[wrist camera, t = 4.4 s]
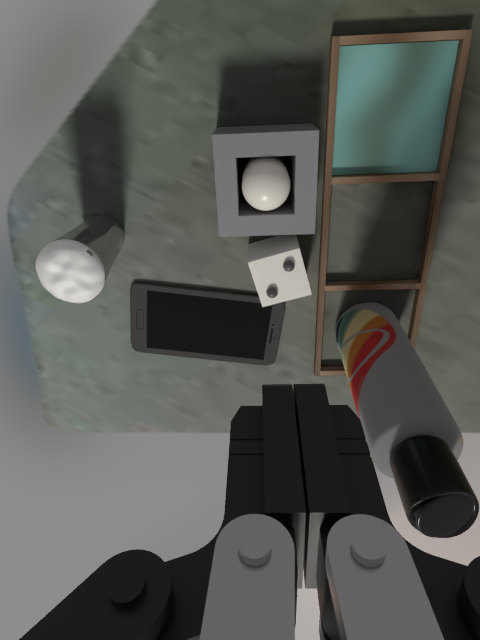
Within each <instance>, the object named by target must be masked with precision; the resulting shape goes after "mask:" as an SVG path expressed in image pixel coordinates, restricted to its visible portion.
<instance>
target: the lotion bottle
mask: <svg viewBox="0 0 480 640" xmlns="http://www.w3.org/2000/svg"><path fill="white" fill-rule="evenodd" d="M335 336H336V341H337V345H338V348H339V352H340V355H341V359H342V362H343V365H344V369H345V372H346V375H347V379H348V382H349V386H350V389H351V392H352V396H353V399H354V402H355V406H356V409H357V413H358V416H359V419H360V420H361V423H362V427H363V430H364V434H365V437H366V442H367V444H368V447H369V451H370V455H371V458H372V461H373V463H374V464H375V466H376V467H377V469H378V470H379V471H380V472H382V473H383V474H385V475H386V476H388V477H390V478H393V479H395V482H396V486H397V489H398V492H399V494H400V498H401V501H402V504H403V507H404V510H405V513H406V516H407V518H408V521H409V522H410V523H411V525H412V526H413V527H414V528H416V529H417V530H419V531H420V532H422V533H423V534H424V535H426V536H429V537H438V538H448V537H454V536H457V535H460V534H462V533H463V532H465V531H466V530H468V529H469V528H470V527H471V526H472V524H473V523H474V522H475V520H476V518H477V515H478V512H479V503H478V500H477V498H476V495H475V494H474V492H473V490H472V488H471V486H470V484H469V482H468V480H467V478H466V477H465V475H464V473H463V471H462V469H461V467H460V465H459V463H458V461H457V460H458V459H459V457H460V455H461V452H462V449H463V438H462V435H461V432H460V430H459V428H458V426H457V424H456V422H455V420H454V419H453V417H452V415H451V413H450V411H449V410H448V408H447V406H446V404H445V402H444V401H443V399H442V397H441V395H440V394H439V392H438V390H437V388H436V386H435V385H434V383H433V381H432V379H431V378H430V376H429V374H428V372H427V370H426V369H425V367H424V365H423V363H422V362H421V360H420V358H419V356H418V354H417V353H416V351H415V349H414V347H413V346H412V344H411V342H410V340H409V338H408V337H407V335H406V333H405V331H404V330H403V328H402V326H401V324H400V323H399V321H398V319H397V318H396V316H395V315H394V313H393V312H392V311H391V310H390V309H389V308H387V307H386V306H384V305H382V304H379V303H374V302H365V303H360V304H357V305H354V306H352V307H350V308H349V309H347V310H346V311H345V312H344V313H343V314H342V315H341V316H340V318H339V319H338V321H337V324H336V328H335Z"/></svg>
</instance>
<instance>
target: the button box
mask: <svg viewBox="0 0 480 640" xmlns="http://www.w3.org/2000/svg"><path fill="white" fill-rule="evenodd" d="M212 141H213V155H214V170H215V185H216V200H217V214H218V229H219V237H235V236H266V235H298V234H315V220H316V197H317V174H318V150H319V129H318V128H317V127H316V126H315V125H314V124H313V123H305V124H282V125H258V126H234V127H216V129H215V131H214V132H213V134H212ZM268 156H291V200H285V202H284V203H283V204H282V205H280V206H279V207H277V208H276V209H273V210H268V211H263V210H258V209H256V208H254V207H252V206H251V205H250V204H249V203H248V202H247V201H240V188H239V164H238V158H243V157H268Z"/></svg>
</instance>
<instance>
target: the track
mask: <svg viewBox="0 0 480 640" xmlns="http://www.w3.org/2000/svg"><path fill="white" fill-rule="evenodd" d="M472 33H473V29H471V30H451V31H432V32H412V33H392V34H373V35H353V36H333V37H330V56H329V76H328V97H327V117H326V137H325V157H324V177H323V197H322V217H321V237H320V257H319V277H318V297H317V318H316V338H315V358H314V374H315V376H325V375H346V372H345V369H344V366H321V351H322V334H323V317H324V300H325V291H352V290H391V289H416V292H415V298H414V304H413V310H412V316H411V321H410V327H409V333H408V338H409V340H410V342H411V344H412V346H413V347H414V349H415V345H416V339H417V334H418V328H419V323H420V317H421V312H422V306H423V301H424V295H425V290H426V285H427V279H428V274H429V268H430V263H431V257H432V252H433V246H434V241H435V235H436V230H437V224H438V219H439V214H440V208H441V203H442V197H443V192H444V186H445V181H446V175H447V170H448V164H449V159H450V153H451V148H452V143H453V137H454V132H455V126H456V121H457V115H458V110H459V104H460V99H461V93H462V88H463V82H464V77H465V72H466V66H467V61H468V55H469V50H470V44H471V39H472ZM440 40H456V41H440ZM420 41H436V42H420ZM400 42H416V43H400ZM380 43H395V44H380ZM360 44H375V45H360ZM339 45H355V46H339ZM433 171H435V172H433ZM406 172H408V173H406ZM379 173H381V174H379ZM352 174H355V175H352ZM413 181H434V187H433V193H432V199H431V205H430V210H429V216H428V222H427V228H426V234H425V240H424V246H423V251H422V257H421V263H420V269H419V275H418V279H416V280H379V281H341V282H326V266H327V249H328V232H329V215H330V198H331V184H358V183H386V182H413Z"/></svg>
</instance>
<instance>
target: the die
mask: <svg viewBox="0 0 480 640" xmlns="http://www.w3.org/2000/svg"><path fill="white" fill-rule="evenodd" d="M248 264H249V268H250V271H251V274H252V277H253V280H254V283H255V286H256V289H257V292H258V295H259V298H260V301H261V304H262V307H265V306H269V305H273V304H277V303H281V302H285V301H288V300H292V299H296V298H300V297H304V296H308V295H311V290H310V286H309V282H308V278H307V274H306V270H305V266H304V262H303V259H302V255H301V251H300V247H299V243H298V239H297V236H296V235H278V236H275V237H271V238H268V239H264V240H261V241H257V242H254V243H250V244H248Z"/></svg>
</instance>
